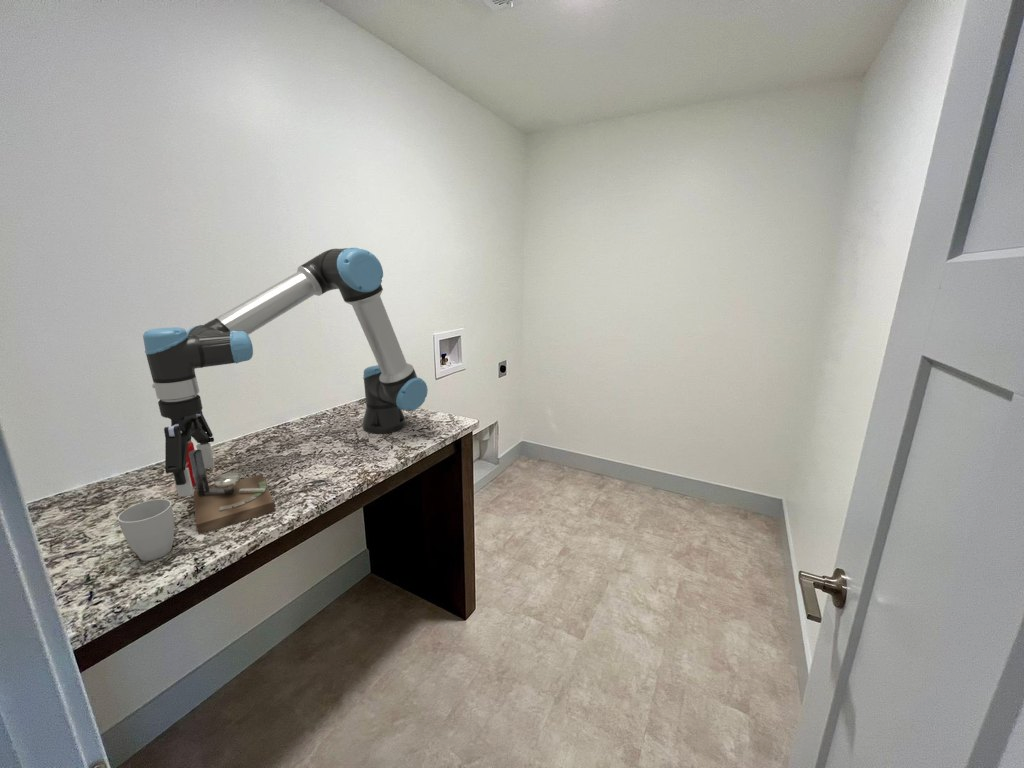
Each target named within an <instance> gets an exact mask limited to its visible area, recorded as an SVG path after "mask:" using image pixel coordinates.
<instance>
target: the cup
mask: <svg viewBox="0 0 1024 768" xmlns="http://www.w3.org/2000/svg"><path fill="white" fill-rule="evenodd" d="M117 521H118V523H119V526H120V529H121V531H122V535H123V537H124V539H125V541H126V542H127V544H128V545H129V547H130V549H131V550H132V551H133V553H134V554H135V555H136V556H137V557H138V558H139V559H140V560H141V561H144V562H148V561H154V560H157V559H160V558H162V557H164V556H165V555H168V553H170V552H171V550H172V548H173V544H174V538H175V520H174V512H173V505H172V501H171V500H169V499H165V498H157V499H156V498H155V499H150V500H145V501H142V502H139V503H136V504H134V505H131V506H129V507H127V508H126V509H124V510H123V511H121V512H120V513H119V514H118V516H117Z"/></svg>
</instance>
